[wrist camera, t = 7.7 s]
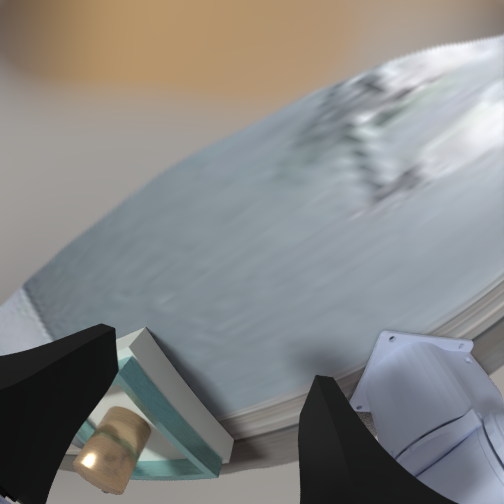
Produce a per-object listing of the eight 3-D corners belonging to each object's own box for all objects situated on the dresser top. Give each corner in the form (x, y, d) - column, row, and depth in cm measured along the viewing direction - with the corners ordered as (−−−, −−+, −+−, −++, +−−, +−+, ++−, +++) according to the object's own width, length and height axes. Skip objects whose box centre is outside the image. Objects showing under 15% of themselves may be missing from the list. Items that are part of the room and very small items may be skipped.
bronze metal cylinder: (151, 418, 21) (121, 480, 14) (150, 451, 22) (126, 505, 15) (105, 399, 21) (67, 453, 14) (110, 434, 22) (80, 483, 16)
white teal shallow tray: (145, 327, 21) (118, 358, 17) (234, 439, 24) (226, 475, 20) (43, 369, 25) (22, 390, 21) (115, 452, 28) (102, 475, 24)
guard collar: (132, 355, 19) (118, 373, 17) (222, 459, 21) (218, 477, 19) (52, 382, 22) (40, 394, 19) (129, 465, 24) (122, 478, 22)
